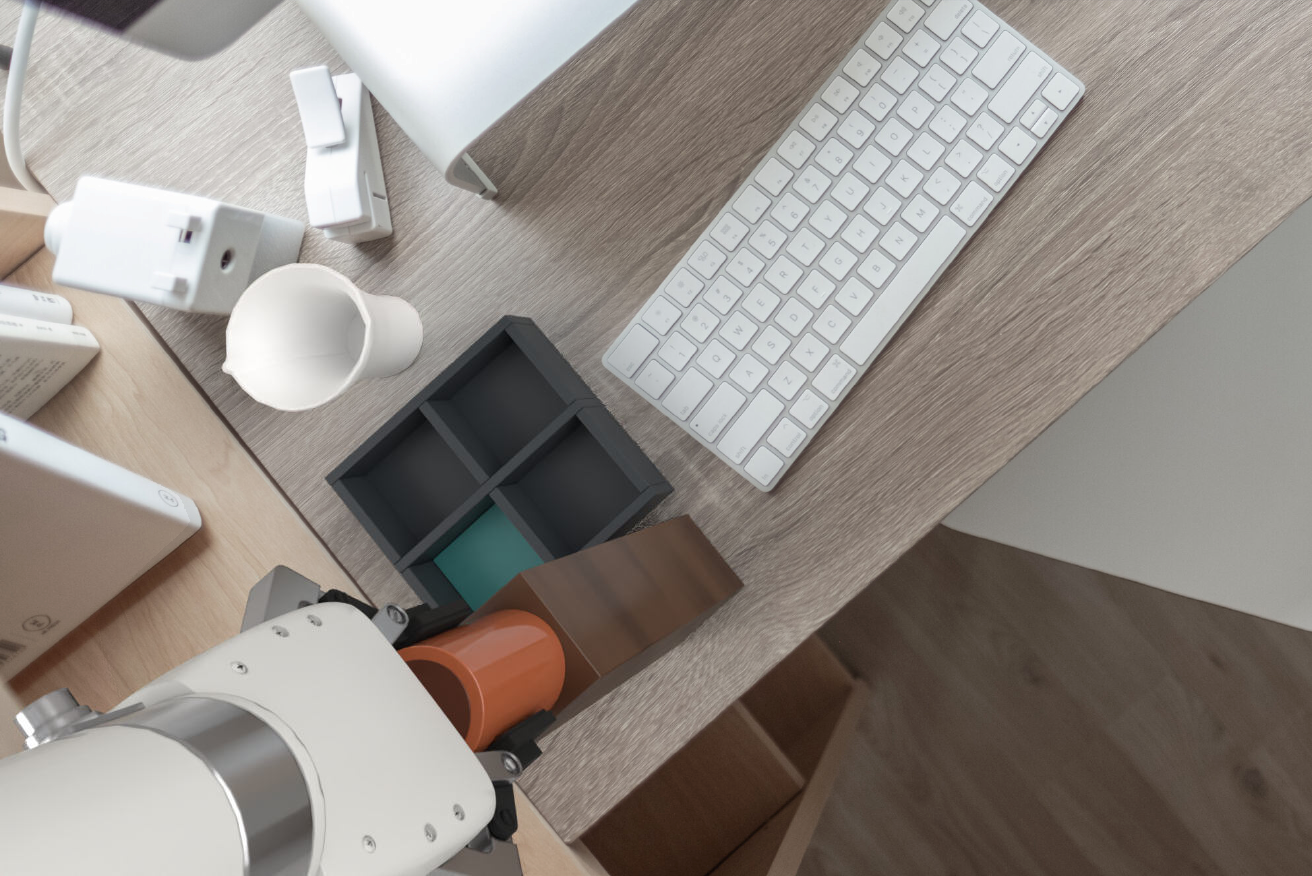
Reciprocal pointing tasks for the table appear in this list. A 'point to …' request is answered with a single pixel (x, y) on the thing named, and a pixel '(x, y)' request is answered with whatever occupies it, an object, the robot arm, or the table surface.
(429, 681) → the tumbler
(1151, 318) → the table surface
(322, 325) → the cup
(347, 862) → the robot arm
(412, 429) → the divided tray
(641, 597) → the brown wooden block
